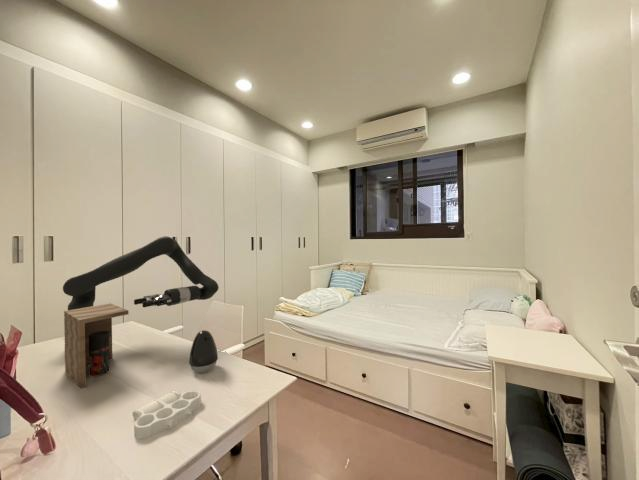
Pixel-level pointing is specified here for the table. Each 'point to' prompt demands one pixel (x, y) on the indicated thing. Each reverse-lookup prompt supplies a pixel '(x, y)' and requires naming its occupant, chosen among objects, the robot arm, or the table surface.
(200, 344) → the black rounded cone
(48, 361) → the table surface
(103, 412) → the table surface
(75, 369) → the wooden stand
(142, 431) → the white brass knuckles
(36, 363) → the table surface
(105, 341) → the deodorant
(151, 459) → the table surface
